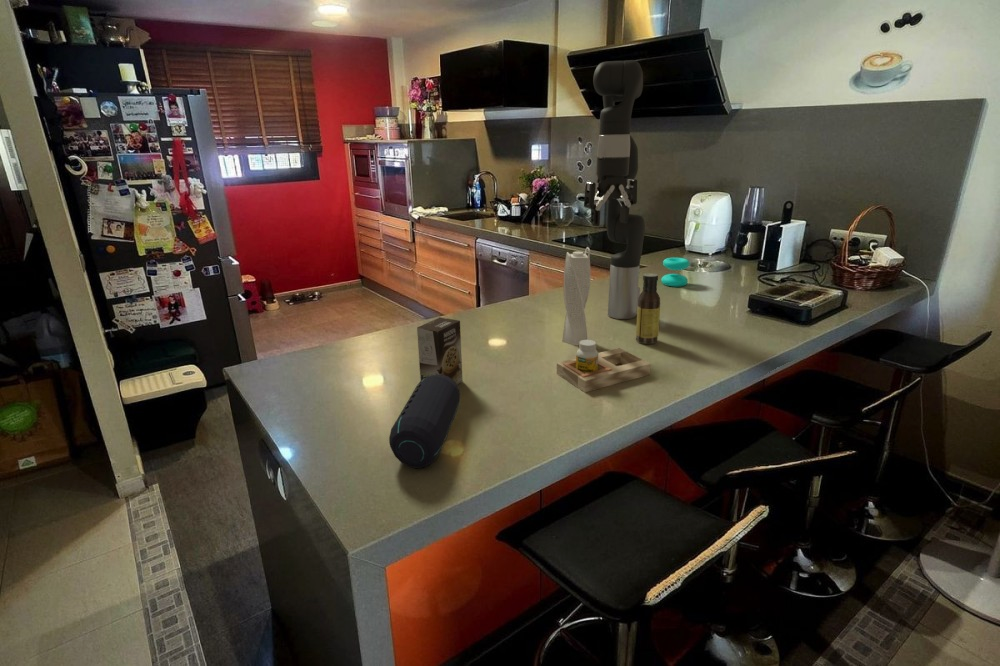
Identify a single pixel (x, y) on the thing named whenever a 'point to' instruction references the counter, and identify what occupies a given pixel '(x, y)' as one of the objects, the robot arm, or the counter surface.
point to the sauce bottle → (648, 311)
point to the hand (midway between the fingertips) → (609, 224)
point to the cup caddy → (605, 370)
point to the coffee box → (440, 349)
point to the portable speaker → (425, 421)
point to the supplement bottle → (587, 357)
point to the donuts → (675, 279)
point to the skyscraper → (576, 296)
